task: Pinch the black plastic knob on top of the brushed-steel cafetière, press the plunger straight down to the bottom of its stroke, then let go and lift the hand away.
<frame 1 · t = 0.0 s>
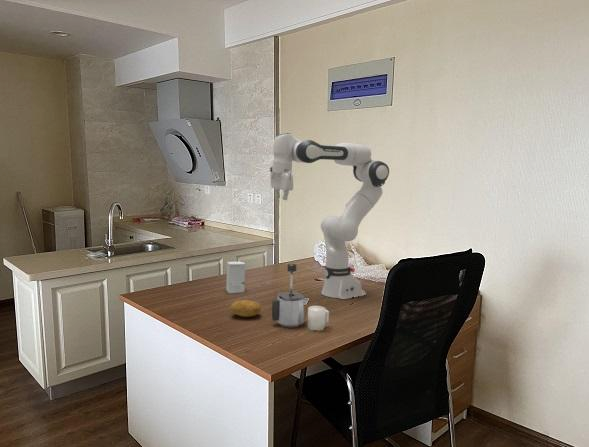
hand: (281, 199, 203), 48 cm above the table, fingers open, 8 cm apart
potato: (245, 316, 185), on the table
skincare box: (235, 291, 220), on the table
carafe: (290, 323, 179), on the table
plunger: (291, 282, 177), point 17 cm above the table, slide at 0.0 cm
white rounded capsule: (316, 327, 175), on the table
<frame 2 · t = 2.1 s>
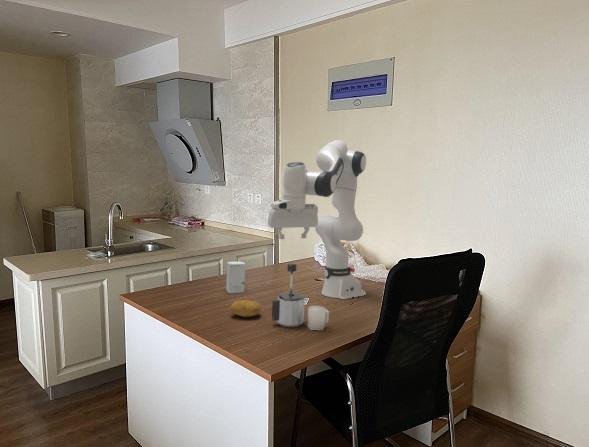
hand: (292, 238, 174), 35 cm above the table, fingers open, 8 cm apart
nothing on the table moved.
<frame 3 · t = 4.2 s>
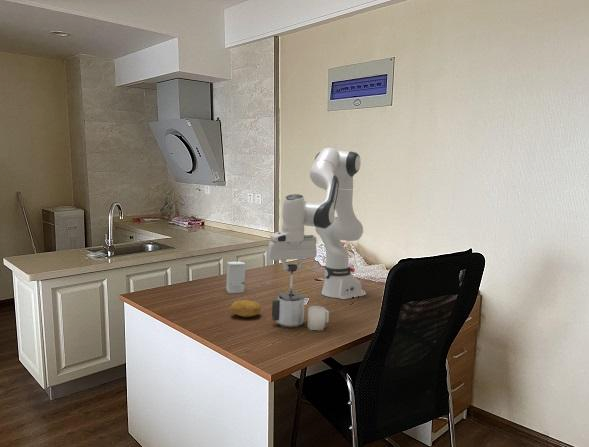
hand: (291, 269, 176), 22 cm above the table, fingers closed on plunger, 4 cm apart
plunger: (291, 282, 177), point 17 cm above the table, slide at 0.0 cm, touching gripper
everything else where it was.
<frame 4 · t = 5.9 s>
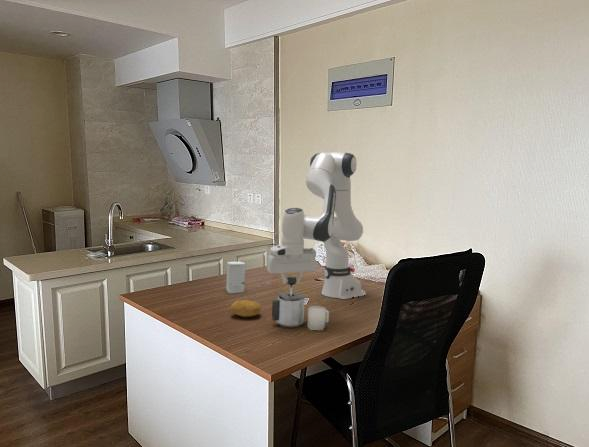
hand: (291, 282, 177), 17 cm above the table, fingers closed on plunger, 4 cm apart
plunger: (290, 295, 177), point 12 cm above the table, slide at 5.4 cm, touching gripper
everything else where it was.
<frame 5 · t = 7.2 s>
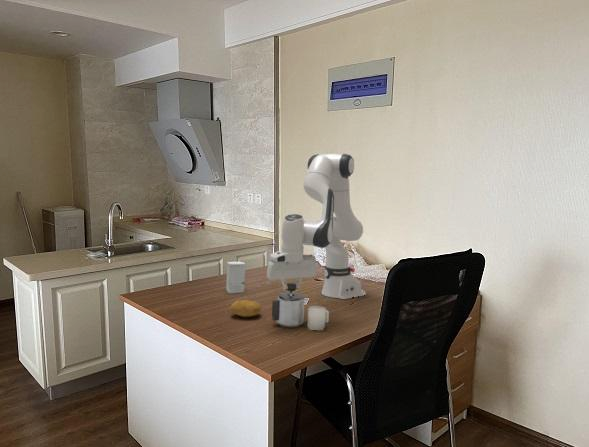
hand: (291, 289, 177), 14 cm above the table, fingers closed on plunger, 4 cm apart
plunger: (290, 301, 178), point 9 cm above the table, slide at 8.0 cm, touching gripper
everything else where it was.
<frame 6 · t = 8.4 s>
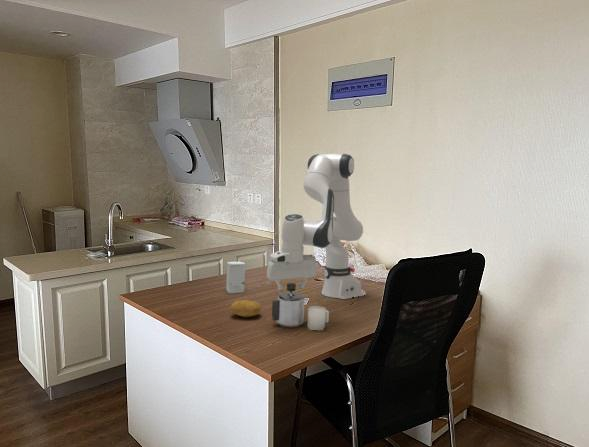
hand: (291, 289, 177), 14 cm above the table, fingers open, 8 cm apart
plunger: (290, 301, 178), point 9 cm above the table, slide at 8.0 cm
everything else where it was.
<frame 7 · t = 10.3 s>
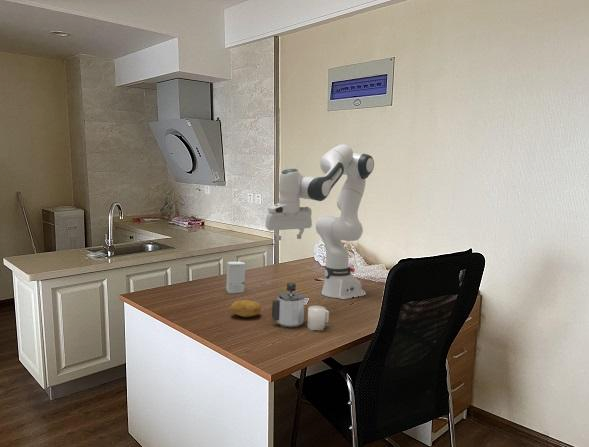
hand: (289, 239, 189), 32 cm above the table, fingers open, 8 cm apart
nothing on the table moved.
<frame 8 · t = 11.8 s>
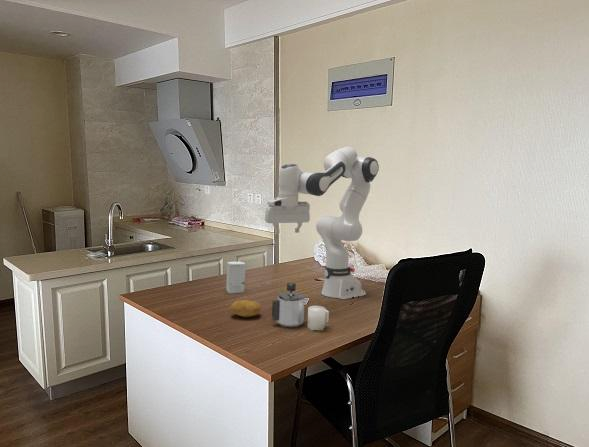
hand: (287, 232, 193), 34 cm above the table, fingers open, 8 cm apart
nothing on the table moved.
at the end: plunger slide at 8.0 cm; the gripper is holding nothing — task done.
